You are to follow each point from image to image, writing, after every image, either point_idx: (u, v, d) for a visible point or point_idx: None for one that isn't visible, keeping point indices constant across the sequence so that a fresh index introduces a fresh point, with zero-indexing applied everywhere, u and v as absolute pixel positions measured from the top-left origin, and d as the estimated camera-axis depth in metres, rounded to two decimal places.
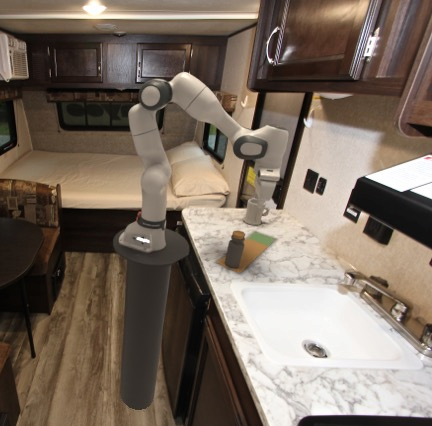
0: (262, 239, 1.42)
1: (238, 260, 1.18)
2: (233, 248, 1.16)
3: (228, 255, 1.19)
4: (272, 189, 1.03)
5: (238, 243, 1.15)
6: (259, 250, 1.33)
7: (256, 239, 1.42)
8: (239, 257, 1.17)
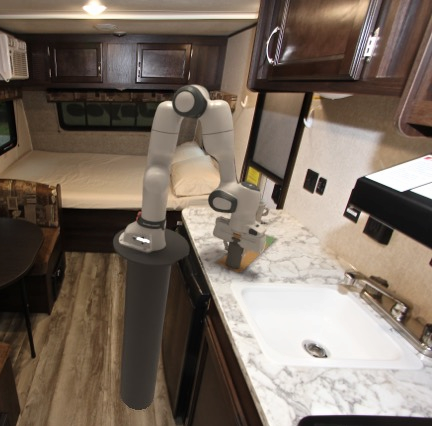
0: None
1: (239, 260, 1.18)
2: (233, 248, 1.16)
3: (229, 255, 1.19)
4: (265, 241, 1.11)
5: None
6: None
7: None
8: (240, 257, 1.17)
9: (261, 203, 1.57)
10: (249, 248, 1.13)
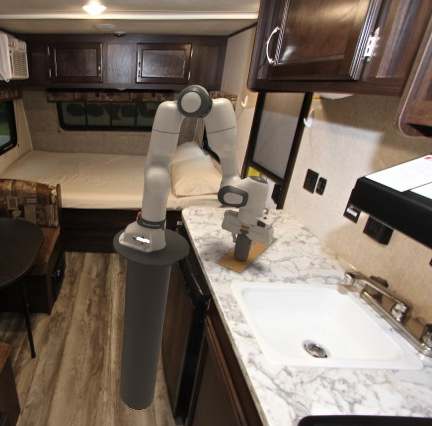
0: None
1: (247, 251, 1.22)
2: (241, 240, 1.20)
3: (237, 246, 1.23)
4: (273, 232, 1.15)
5: None
6: (259, 250, 1.33)
7: None
8: (247, 248, 1.21)
9: None
10: (257, 240, 1.17)
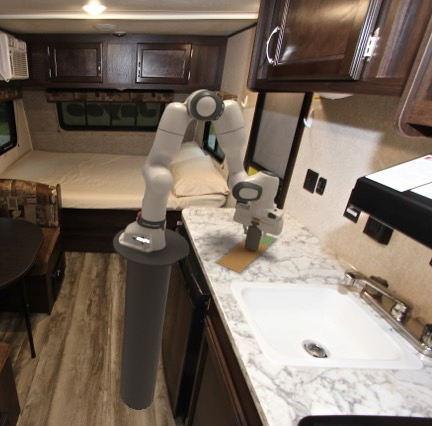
0: None
1: (257, 242, 1.29)
2: (252, 231, 1.27)
3: (248, 238, 1.30)
4: None
5: None
6: (259, 250, 1.33)
7: None
8: (258, 239, 1.28)
9: None
10: (267, 231, 1.24)
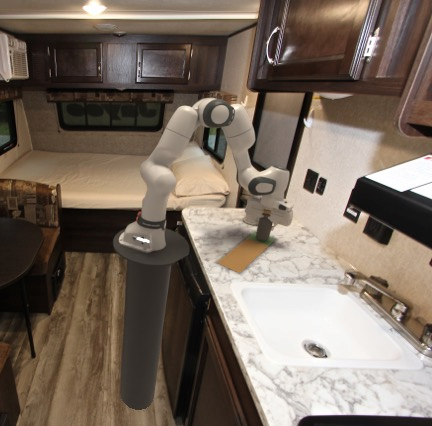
0: None
1: (268, 233, 1.37)
2: (263, 222, 1.36)
3: (259, 229, 1.38)
4: (292, 215, 1.30)
5: None
6: (259, 250, 1.33)
7: (256, 239, 1.42)
8: (269, 230, 1.37)
9: None
10: (278, 222, 1.32)
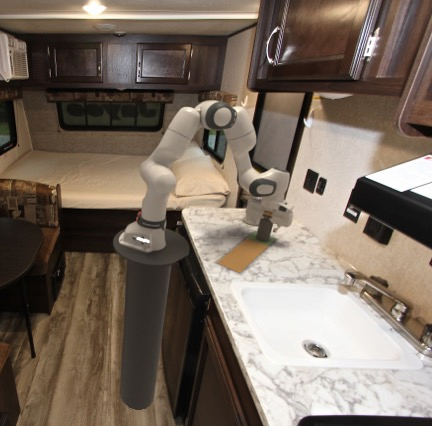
0: None
1: (268, 234, 1.38)
2: (264, 224, 1.37)
3: (260, 230, 1.40)
4: (292, 216, 1.32)
5: None
6: (259, 250, 1.33)
7: (256, 239, 1.42)
8: (269, 231, 1.38)
9: None
10: (278, 223, 1.33)
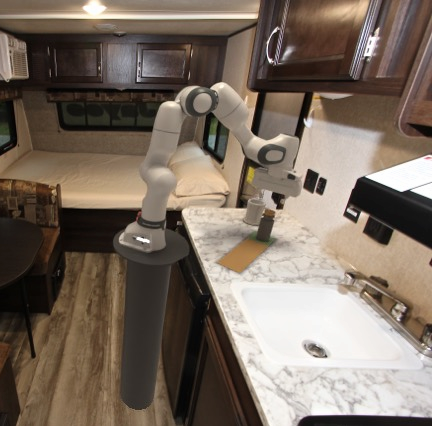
0: None
1: (268, 234, 1.38)
2: (264, 224, 1.37)
3: (260, 230, 1.40)
4: (301, 186, 1.25)
5: (269, 219, 1.36)
6: (259, 250, 1.33)
7: (256, 239, 1.42)
8: (269, 232, 1.38)
9: (261, 203, 1.57)
10: (286, 193, 1.27)
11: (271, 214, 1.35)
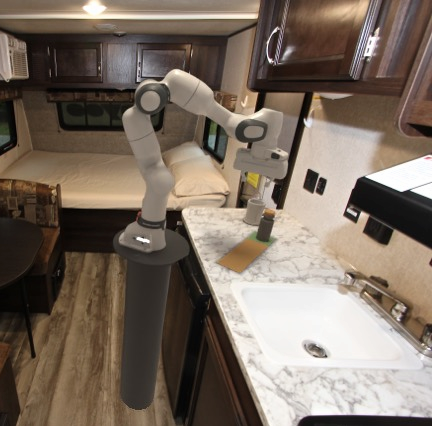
0: None
1: (268, 234, 1.38)
2: (264, 224, 1.37)
3: (260, 230, 1.40)
4: (287, 166, 1.13)
5: (269, 219, 1.36)
6: (259, 250, 1.33)
7: (256, 239, 1.42)
8: (269, 232, 1.38)
9: (261, 203, 1.57)
10: (271, 174, 1.15)
11: (271, 214, 1.35)
